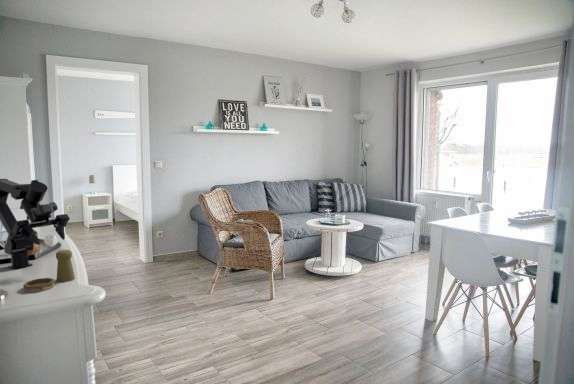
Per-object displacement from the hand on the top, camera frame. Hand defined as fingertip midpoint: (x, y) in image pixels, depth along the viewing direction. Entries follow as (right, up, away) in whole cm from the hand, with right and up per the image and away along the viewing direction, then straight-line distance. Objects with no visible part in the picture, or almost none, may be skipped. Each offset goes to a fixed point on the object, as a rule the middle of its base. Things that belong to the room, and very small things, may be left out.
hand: (51, 241), depth 151 cm
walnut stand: (+2, -15, -11) cm, 18 cm away
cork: (+7, -14, -3) cm, 16 cm away
